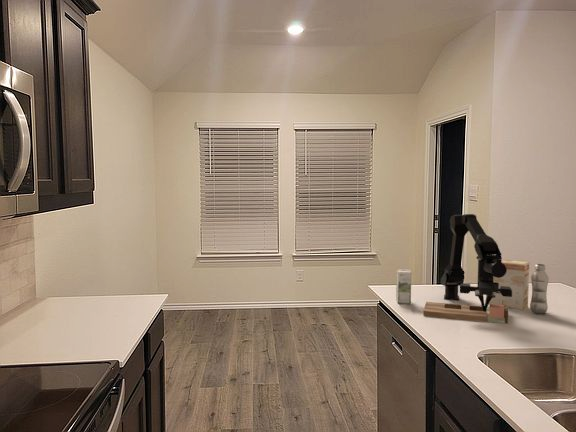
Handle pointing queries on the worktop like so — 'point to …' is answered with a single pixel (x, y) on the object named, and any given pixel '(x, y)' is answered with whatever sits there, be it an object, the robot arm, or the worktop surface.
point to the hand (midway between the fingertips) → (484, 311)
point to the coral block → (496, 311)
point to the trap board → (462, 312)
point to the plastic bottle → (539, 289)
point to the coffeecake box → (514, 285)
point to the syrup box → (403, 287)
